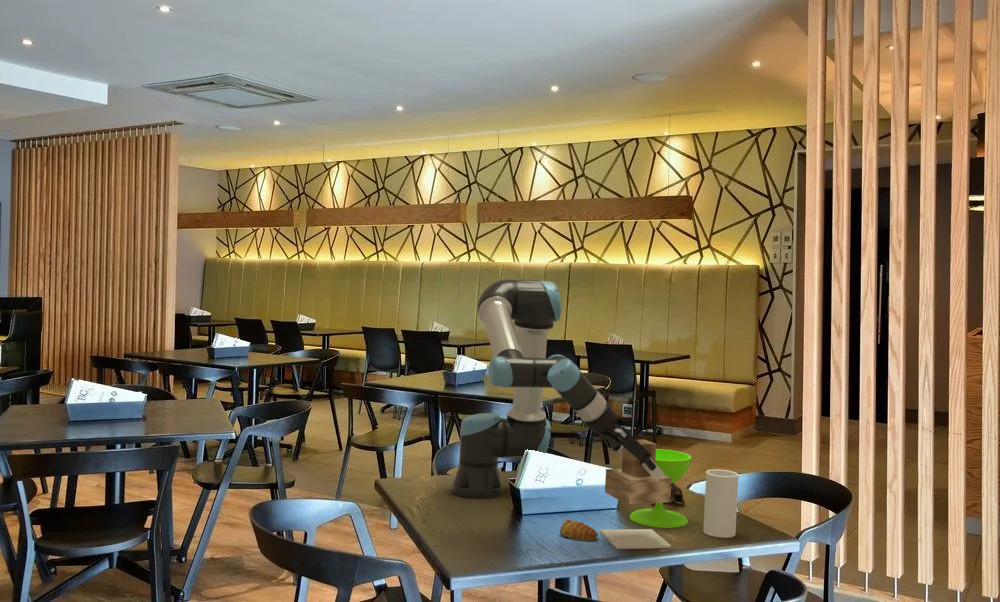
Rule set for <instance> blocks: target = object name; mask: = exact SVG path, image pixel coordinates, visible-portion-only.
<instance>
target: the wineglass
mask: <svg viewBox="0 0 1000 602" xmlns="http://www.w3.org/2000/svg"><path fill="white" fill-rule="evenodd" d="M691 460H692V455H690V454H688V453H686V452H682V451H678V450H672V449H663V448H662V449H661V448H656V458H655V463H656V464H657V466H658V467H659V468H660V469H661V470H662V471H663V473H664V474H663V475H665V476H668V477H670V478H671V483H673V482H674V483H675V482H677V481H679V480H680V479H681V478H682V477H684V475H685V474H686V473H687V472H688V470H689V468H690V465H691ZM663 504H664V503H655V505H654V508H642V509H636V510H634V511H633V512H631V513H630V514H629V517H628V518H629V519H630V521H632V522H633V521H634V523H635V522H637V523H636V524H638V523H639V524H638V525H641V524H642V525H643V526H645V525H647V526H646V527H651V526H652V527H653V528H659V529H660V528H662V529H674V528H673V527H677V528H681V527H680V526H683V527H685V526H687V525H688V524H687V523H689V521H688V518H687V517H686V516H684V515H683V514H682V513H680V512H677V511H673V510H668V509H664V505H663ZM686 524H687V525H686ZM684 525H685V526H684ZM652 527H651V528H652Z"/></svg>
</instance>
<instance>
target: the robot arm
mask: <svg viewBox="0 0 1000 602" xmlns="http://www.w3.org/2000/svg"><path fill="white" fill-rule="evenodd" d="M561 302H562V301H561V295H560V291H559V288H558V286H557V285H556V284H555V283H554V282H552V281H546V280H538V279H537V280H532V279H507V278H505V279H501V280H497V281H495V282H492V284H490V285H489V286H487V287H486V288H485V289H484V290H483V292H481V294H480V296H479V298H478V301H477V313H478V317H479V320H480V321H481V323H483V324H484V326H485V329H486V334H487V337H488V340H489V344H490V345H489V346H490V348H491V351H492V357H491V359H490V361H489V365H488V376H489V377H488V378H489V382H490V384H491V385H492V386H493V387H501V388H502V387H503V388H514V389H513V399H512V407H511V409H509V410H508V411H507V414H506V418H501V415H500V414H498V413H493V412H492V413H491V412H490V413H489V412H483V413H482V412H481V413H475V414H471V415H468V416H465V417H464V418H463V419H462V420H461V423H460V424H461V425H460V430H459V431H460V432H459V435H460V436H459V440H460V441H459V459H458V460H459V462H458V468H457V470H456V474H455V477H454V478H453V482H452V487H451V488H452V489H451V491H452V493H453V494H454V495H456V496H460V497H463V498H469V499H491V498H492V499H493V498H497V497H499V496H502V495H503V493H504V492H503V491H504V490H503V487H504V486H503V483H502V482H503V481H502V479H501V475H500V474H501V473H500V471H499V458H500V459H524V458H523V455H524V452H525V450H527V449H528V450H535V451H539V452H543V453H545V454H546V453H547V451H548V449H549V445H550V441H551V435H552V434H551V423H550V421H549V420H548V419H547V418H546V416H547V415H546V413H545V412H544V411H543V410H542V404H543V392H544V391H543V390H544V388H547V389H548V388H549V389H554V390H555V391H556V392H557V393H558V394H559V395H560V397H561V398H562V399H564V400H565V402H566V403H567V405H569V406H570V407H571V409H572V410H573V411H574V412H575V413H576V414H575V417H577V418H579V417H580V419H581V420H582V421H583V422H584V424H585V425H586V426H587V428H589V430H590V431H591V432H592V433H595V434H599V436H600V437H601V439H602V440H603V442H604V443H605V445H606V446H607V448H609V449H611V450H612V451H614V452H615V453H616V455H617V456H618V457H619V458H620V459H621V460H622V459H623V447H624V448H626V449H627V450H628V451H629V452H630V453H631V454H632V455H634V456H635V457H636V458H637V459H638V460H639V461H640V463H639V465H642V466H643V467H644V468H645V469H646V470H647V471H648V473H649V474H650V475H651V476H652V477H653V478H654V479H655V481H658V480H659V479H660V478H661V477H662V476H663V474H664V473H663V471H662V470H661V469H660V468H659V467H658V466H657V464H656V463H655V462H654V461H653V460H652V459H651V456H652V455H651V453H649V452H648V451H647V450H646V449H645V448H644V447H643V446H642V445H641V444H640V443H639V442H638V441H637V440H638V439H636V438H635V437H634V436H633V435H632V434H631V433H629V431H628V430H627V429H626V427H624V426H621V425H620V424H619V423H615V422H616V419H617V412H616V411H615V410H614V409H613V407H612V406H611V405H610V404H609V403H608V402H607V400H606V399H605V398H604V396H603V395H602V394H601V393H600V391H598V390H597V388H595V387H594V386H593V384H592V383H591V382H590V381H589V380H588V378H587V377H586V376H585V375H584V374H583V372H582V371H581V370H580V368H579V367H578V366H577V364H576V363H574V362H573V361H572V360H571V359H569V358H568V357H566V356H564V355H563V354H553V355H550V356H548V357H547V356H546V355H547V344H548V333H549V332H550V331H552V330H553V329H554V322H559V321H560V320H561V319H560V318H561V315H562V303H561ZM513 320H514V321H513ZM516 329H517V330H518V334H517V331H516Z"/></svg>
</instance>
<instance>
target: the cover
mask: <svg viewBox="0 0 1000 602" xmlns="http://www.w3.org/2000/svg"><path fill="white" fill-rule="evenodd" d="M636 440H637V441H638V442H639V443H640V444H641V445H642V446H643V447H644V448H645V449H646V450H647V451H648V452H649V453H651V455H652V456H651V459H652V460H653V461H654V462H655V458H656V449H657V443H654V442H652V441H649V440H646V439H636ZM621 460H622V461H621V463H622V464H621V468H606V469H605V481H604V482H605V483H604V486H605V487H604V493H605V494H606V495H608V496H610V497H612V498H615V499H616V500H618V501H619V502H622V503H623V504H626V505H640V504H641V505H643V504H652V503H654V504H656V503H663V504H664V503H671V500H670V497H671V478H670V477H668V476H665V475H663V476H662V477H661V478H660V479H659V480H658V481H655V479H654V478H653V477H652V476H651V475H650V474H649V473H648V471H647V470H646V469H645V468H644V467H643V466H642V465H639V463H640V461H639V460H638V459H637V458H636V457H635V456H634V455H632V454H631V453H630V452H629V451H628V450H627V449H626V448H624V447H623V459H621Z"/></svg>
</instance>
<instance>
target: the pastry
mask: <svg viewBox="0 0 1000 602" xmlns="http://www.w3.org/2000/svg"><path fill="white" fill-rule="evenodd" d="M559 533H560V534H561V536H562V537H564V538H566V537H567V538H568V539H571V540H575V541H583V542H592V541H594V540H596V539H597V538H598V531H596V530H595V529H594V528H592V527H591V526H589V525H587V524H586V523H584V522H581V521H580V522H579V521H577V520H576V521H575V520H574V521H572V520H571V519H566V520H564V522H562V524H561V526H560V530H559Z"/></svg>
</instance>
